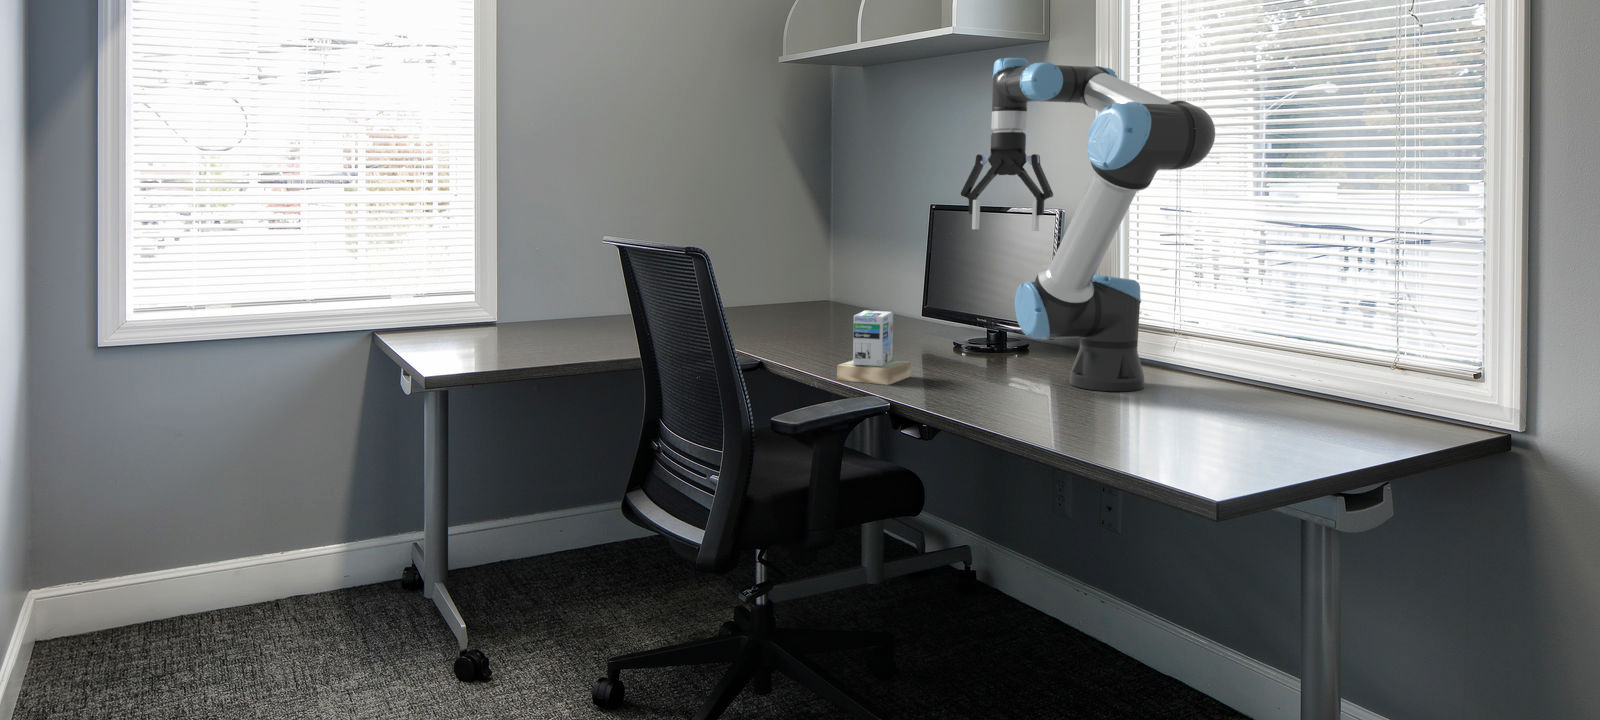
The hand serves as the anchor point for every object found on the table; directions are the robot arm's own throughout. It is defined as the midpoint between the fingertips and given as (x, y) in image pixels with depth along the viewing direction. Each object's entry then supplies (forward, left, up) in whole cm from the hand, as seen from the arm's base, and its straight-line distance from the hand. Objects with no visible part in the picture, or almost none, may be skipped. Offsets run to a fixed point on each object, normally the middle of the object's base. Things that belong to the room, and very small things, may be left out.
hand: (1004, 230), depth 247 cm
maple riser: (+21, +22, -32) cm, 44 cm away
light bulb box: (+21, +22, -28) cm, 42 cm away
